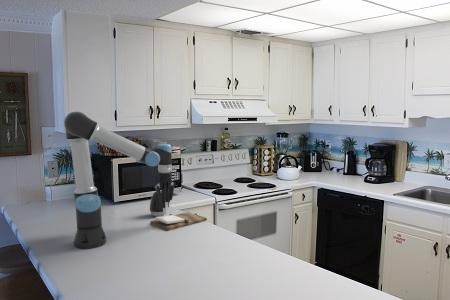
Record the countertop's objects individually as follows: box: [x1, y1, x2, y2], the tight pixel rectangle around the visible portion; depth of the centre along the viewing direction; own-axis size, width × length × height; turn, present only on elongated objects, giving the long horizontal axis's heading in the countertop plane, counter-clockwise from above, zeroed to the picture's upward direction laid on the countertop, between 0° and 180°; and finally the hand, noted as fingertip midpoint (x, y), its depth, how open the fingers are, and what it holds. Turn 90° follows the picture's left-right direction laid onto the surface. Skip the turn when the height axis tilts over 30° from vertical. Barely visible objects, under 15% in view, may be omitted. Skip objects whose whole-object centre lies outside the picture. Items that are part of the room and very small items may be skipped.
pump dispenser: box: [149, 190, 165, 217], centre depth 242 cm, size 10×10×15 cm
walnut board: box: [150, 211, 208, 232], centre depth 228 cm, size 27×18×3 cm, turn 132°
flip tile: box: [154, 214, 185, 224], centre depth 224 cm, size 12×12×1 cm
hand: (165, 213), depth 222 cm, fingers closed
